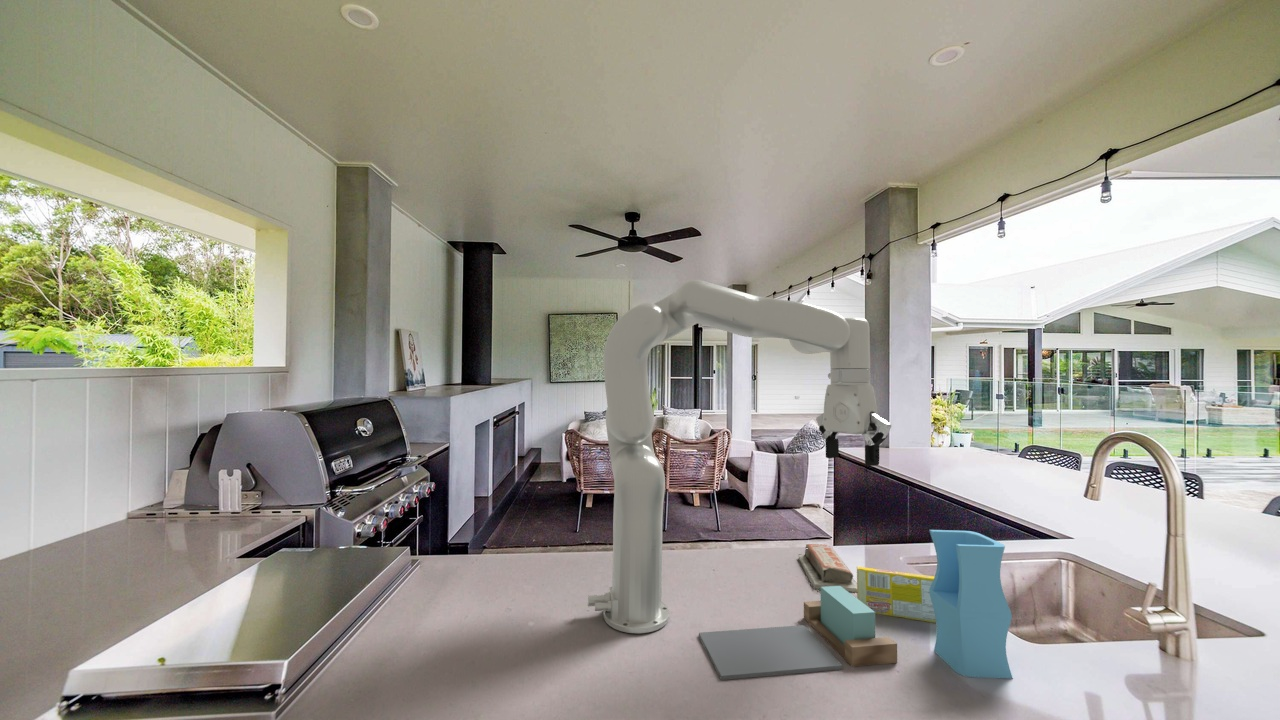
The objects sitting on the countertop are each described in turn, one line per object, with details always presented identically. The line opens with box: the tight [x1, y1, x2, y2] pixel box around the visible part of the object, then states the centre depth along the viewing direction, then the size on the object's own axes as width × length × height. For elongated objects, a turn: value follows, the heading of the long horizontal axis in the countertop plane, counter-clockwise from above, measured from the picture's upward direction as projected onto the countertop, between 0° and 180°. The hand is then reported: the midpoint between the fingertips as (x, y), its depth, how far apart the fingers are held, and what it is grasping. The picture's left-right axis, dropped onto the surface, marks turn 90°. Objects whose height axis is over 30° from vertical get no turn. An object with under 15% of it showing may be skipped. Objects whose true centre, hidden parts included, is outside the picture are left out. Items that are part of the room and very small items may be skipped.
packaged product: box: [797, 543, 857, 593], centre depth 108 cm, size 18×5×10 cm
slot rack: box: [803, 600, 898, 668], centre depth 81 cm, size 8×15×3 cm, turn 9°
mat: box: [698, 624, 843, 681], centre depth 76 cm, size 20×12×1 cm, turn 99°
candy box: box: [856, 566, 937, 624], centre depth 89 cm, size 16×2×8 cm, turn 71°
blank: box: [820, 586, 876, 645], centre depth 81 cm, size 4×10×7 cm, turn 9°
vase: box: [929, 529, 1013, 680], centre depth 75 cm, size 8×8×20 cm
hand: (851, 461), depth 94 cm, fingers open, 9 cm apart
